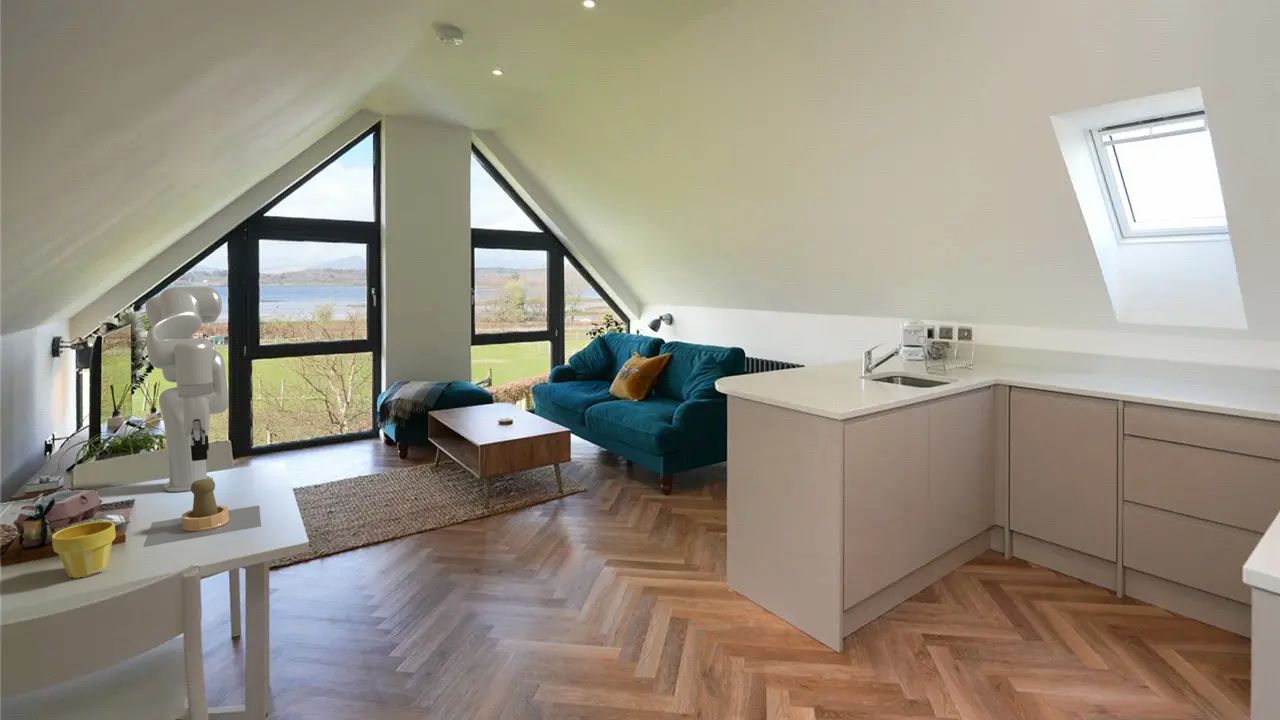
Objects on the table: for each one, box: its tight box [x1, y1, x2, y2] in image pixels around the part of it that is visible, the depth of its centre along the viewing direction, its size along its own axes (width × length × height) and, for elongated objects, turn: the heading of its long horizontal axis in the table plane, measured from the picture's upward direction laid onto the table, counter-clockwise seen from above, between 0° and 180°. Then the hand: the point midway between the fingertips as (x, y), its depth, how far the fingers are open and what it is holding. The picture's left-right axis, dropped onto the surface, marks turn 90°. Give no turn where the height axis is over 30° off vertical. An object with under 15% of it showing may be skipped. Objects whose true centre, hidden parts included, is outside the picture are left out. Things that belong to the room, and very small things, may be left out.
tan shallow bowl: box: [181, 505, 229, 532], centre depth 161 cm, size 10×10×3 cm
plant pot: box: [51, 520, 117, 579], centre depth 136 cm, size 10×10×10 cm
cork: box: [190, 479, 218, 518], centre depth 161 cm, size 6×6×11 cm
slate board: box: [143, 505, 262, 548], centre depth 161 cm, size 18×24×1 cm
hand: (200, 455), depth 159 cm, fingers open, 9 cm apart
